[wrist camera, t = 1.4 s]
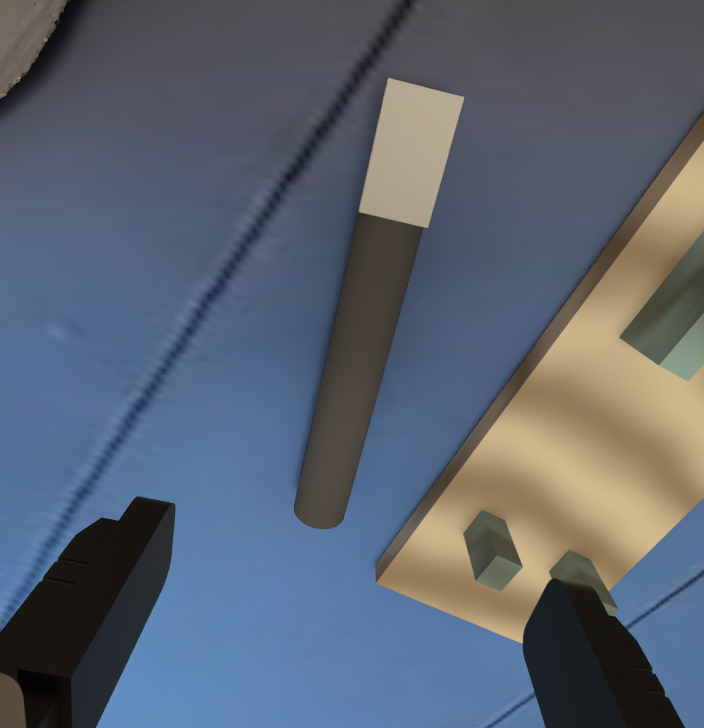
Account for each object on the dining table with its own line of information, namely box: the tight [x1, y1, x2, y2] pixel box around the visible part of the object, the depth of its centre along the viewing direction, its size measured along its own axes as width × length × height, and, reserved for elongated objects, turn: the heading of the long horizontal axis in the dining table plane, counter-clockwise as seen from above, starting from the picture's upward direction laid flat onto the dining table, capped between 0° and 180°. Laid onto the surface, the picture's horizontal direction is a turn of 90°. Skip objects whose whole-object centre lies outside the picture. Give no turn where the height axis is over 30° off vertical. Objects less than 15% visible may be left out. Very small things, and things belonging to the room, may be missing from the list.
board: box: [376, 112, 704, 644], centre depth 25 cm, size 30×13×5 cm, turn 152°
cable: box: [294, 78, 464, 529], centre depth 24 cm, size 22×3×3 cm, turn 167°
